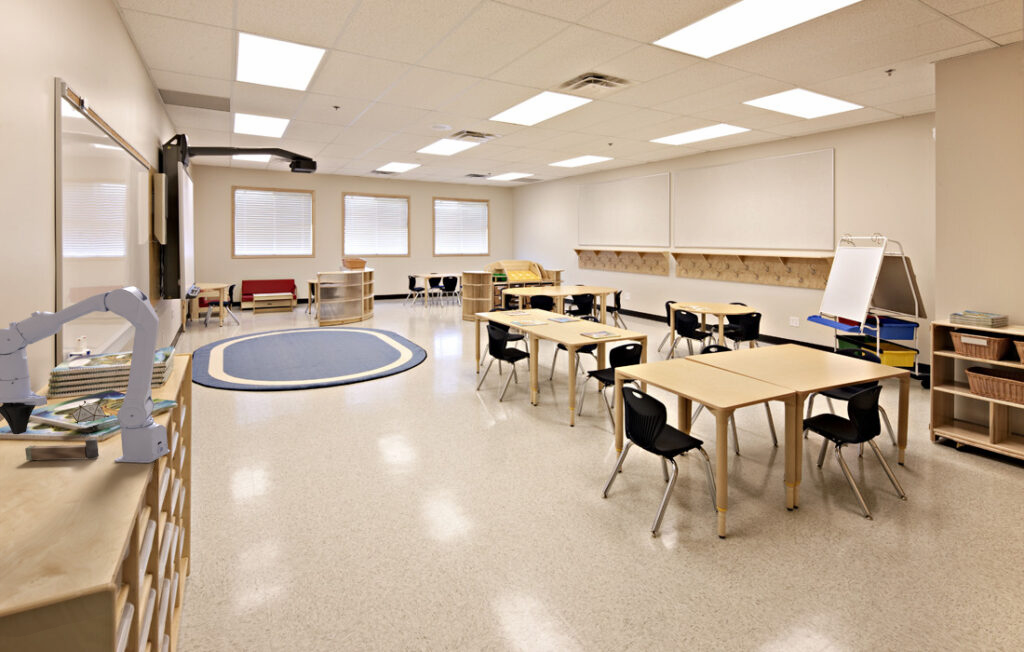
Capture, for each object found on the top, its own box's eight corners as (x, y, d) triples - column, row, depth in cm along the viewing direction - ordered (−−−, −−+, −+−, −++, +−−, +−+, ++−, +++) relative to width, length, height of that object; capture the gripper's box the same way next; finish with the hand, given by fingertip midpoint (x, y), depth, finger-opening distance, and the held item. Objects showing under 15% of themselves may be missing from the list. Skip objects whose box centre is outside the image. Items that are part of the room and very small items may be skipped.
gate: (100, 455, 141) (99, 438, 140) (95, 459, 138) (93, 441, 138) (32, 457, 139) (30, 439, 138) (25, 460, 136) (23, 443, 136)
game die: (86, 439, 163) (76, 409, 165) (117, 426, 166) (107, 397, 168) (69, 434, 155) (59, 403, 157) (102, 420, 158) (92, 390, 160)
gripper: (56, 375, 132) (62, 429, 134) (3, 372, 133) (10, 425, 135) (27, 382, 125) (34, 439, 127) (-28, 379, 126) (-21, 435, 128)
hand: (19, 432), depth 130 cm, fingers closed
